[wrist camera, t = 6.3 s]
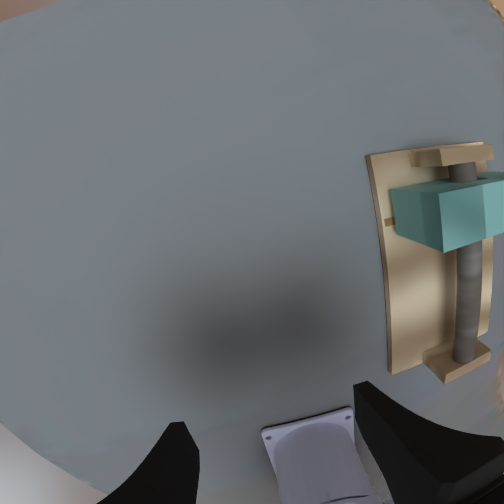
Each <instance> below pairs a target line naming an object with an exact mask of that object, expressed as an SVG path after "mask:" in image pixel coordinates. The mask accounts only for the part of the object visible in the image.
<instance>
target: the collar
mask: <svg viewBox="0 0 504 504" xmlns="http://www.w3.org/2000/svg"><path fill="white" fill-rule="evenodd" d="M390 191H391V197H392V203H393V210H394V217H395V225H396V233H397V235H399V236H402V237H404V238H407V239H410V240H412V241H415V242H417V243H420V244H423V245H425V246H428V247H430V248H433V249H435V250H438V251H441V252H443V253H445V252H448V251H451V250H454V249H457V248H460V247H463V246H466V245H469V244H472V243H475V242H477V241H480V240H483V239H486V238H489V237H492V236H495V235H497V234H500V233H503V232H504V172H481V173H477V181H472V182H466V183H451V182H450V178H447V179H441V180H436V181H430V182H425V183H420V184H414V185H409V186H404V187H399V188H394V189H390Z"/></svg>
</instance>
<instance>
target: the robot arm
mask: <svg viewBox="0 0 504 504" xmlns="http://www.w3.org/2000/svg"><path fill="white" fill-rule="evenodd" d="M353 388H354V404H355V418H356V421H357V424H358V427H359V429H360V432H361V434H362V437H363V439H364V440H365V442H366V444H367V446H368V448H369V450H370V451H371V453H372V455H373V457H374V459H375V461H376V462H377V464H378V466H379V468H380V470H381V471H382V473H383V476H384V478H385V480H386V482H387V485H388V487H389V490H390V493H391V495H392V498H393V500H387V501H385V502H383V504H504V474H503V473H504V440H503V439H502V438H501V437H496V436H484V435H476V434H470V433H465V432H461V431H457V430H454V429H450V428H447V427H444V426H441V425H439V424H436V423H434V422H431V421H429V420H427V419H425V418H423V417H421V416H419V415H417V414H415V413H413V412H411V411H410V410H408V409H406V408H405V407H403V406H402V405H400V404H398V403H397V402H395V401H394V400H392V399H391V398H390V397H388V396H387V395H385V394H384V393H383V392H381V391H380V390H379V389H378V388H376V387H375V386H374V385H372V384H371V383H370V382H368V381H365V382H362V383H359V384H355V385H353ZM346 416H348V417H346ZM261 434H262V438H263V441H264V444H265V447H266V449H267V452H268V455H269V458H270V461H271V463H272V466H273V469H274V472H275V474H276V477H277V483H278V490H279V497H280V503H281V504H382V502H381V500H380V497H379V495H378V493H376V494H375V493H374V490H373V488H372V486H371V483H370V481H369V479H368V476H367V474H366V471H365V469H364V467H363V464H362V462H361V460H360V457H359V455H358V453H357V450H356V448H355V442H354V418H353V410H352V408H350V407H347V408H344V409H340V410H337V411H334V412H330V413H327V414H323V415H320V416H316V417H312V418H308V419H305V420H301V421H296V422H292V423H288V424H284V425H279V426H274V427H270V428H265V429H263V430H262V431H261ZM267 436H270V437H267ZM199 472H200V458H199V449H198V447H197V446H196V444H195V442H194V440H193V438H192V436H191V435H190V433H189V431H188V429H187V427H186V425H185V423H184V421H182V422H173V423H170V424H169V425H168V427H167V428H166V430H165V431H164V433H163V434H162V436H161V437H160V439H159V440H158V441H157V443H156V444H155V446H154V447H153V448H152V450H151V451H150V453H149V454H148V455H147V457H146V458H145V459H144V461H143V462H142V463H141V464H140V465H139V467H138V468H137V469H136V470H135V471H134V472H133V474H132V475H131V476H130V477H129V478H128V479H127V480H126V481H125V482H124V483H123V484H121V485H120V486H119V487H118V488H117V489H116V490H114V491H113V492H112V493H111V494H109V495H108V496H107V497H106V498H104V499H103V500H101V501H100V502H98V503H97V504H196V496H197V489H198V480H199Z"/></svg>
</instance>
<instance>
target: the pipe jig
mask: <svg viewBox="0 0 504 504" xmlns="http://www.w3.org/2000/svg"><path fill="white" fill-rule="evenodd" d="M365 157H366V162H367V167H368V172H369V177H370V182H371V188H372V193H373V199H374V205H375V211H376V218H377V225H378V232H379V239H380V247H381V256H382V265H383V275H384V286H385V299H386V315H387V338H388V371H389V372H390V373H391V375H394V374H396V373H399V372H401V371H404V370H406V369H409V368H411V367H414V366H416V365H419V364H421V363H423V362H424V363H425V364H426V365H427V366H428V368H429V369H430V370H431V371H432V372H433V373H434V374H435V375H436V376H437V377H438V378H439V379H440V380H441V381H442V382H443V384H446V383H448V382H450V381H452V380H454V379H456V378H458V377H460V376H462V375H464V374H466V373H468V372H469V371H471V370H473V369H475V368H477V367H478V366H480V365H482V364H484V363H485V362H487V361H489V360H490V356H491V349H489V348H488V347H487V346H485V345H484V344H483V343H481V342H480V341H479V340H477V337H478V336H480V335H482V334H484V333H486V332H487V331H488V324H489V315H490V305H491V292H492V273H493V236H492V237H489V238H486V239H483V240H480V241H477V242H475V243H472V244H469V245H466V246H463V247H460V248H457V249H454V250H451V251H448V252H445V253H443V252H441V251H438V250H435V249H433V248H430V247H428V246H425V245H423V244H420V243H417V242H415V241H412V240H410V239H407V238H404V237H402V236H399V235H397V233H396V225H395V217H394V210H393V203H392V197H391V191H390V189H394V188H399V187H404V186H409V185H414V184H420V183H425V182H430V181H436V180H441V179H447V178H450V182H451V183H466V182H472V181H477V173H481V172H488V171H487V164H486V160H491V159H494V156H493V150H492V144H485V145H483V142H475V143H464V144H453V145H444V146H434V147H426V148H418V149H410V150H402V151H395V152H388V153H381V154H375V155H368V156H365Z"/></svg>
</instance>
